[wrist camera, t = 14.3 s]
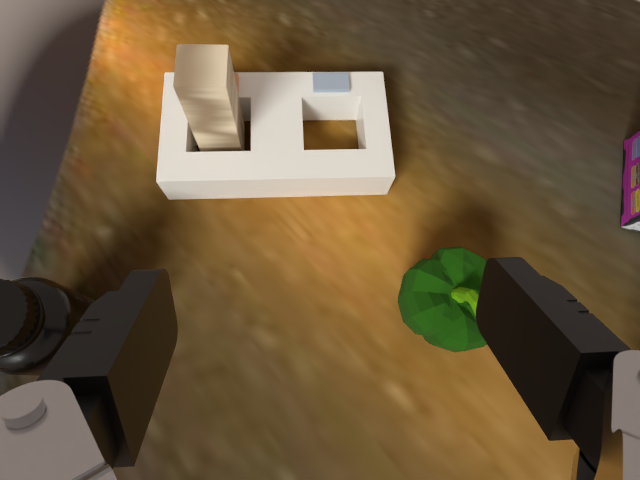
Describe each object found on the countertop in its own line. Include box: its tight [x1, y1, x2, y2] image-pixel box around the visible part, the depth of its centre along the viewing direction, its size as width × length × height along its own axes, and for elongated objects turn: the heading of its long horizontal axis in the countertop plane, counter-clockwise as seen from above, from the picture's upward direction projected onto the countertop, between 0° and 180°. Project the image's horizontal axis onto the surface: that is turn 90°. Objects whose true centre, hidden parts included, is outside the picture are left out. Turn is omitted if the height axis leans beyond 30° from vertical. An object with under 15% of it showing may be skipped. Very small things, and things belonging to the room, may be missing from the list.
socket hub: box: [156, 72, 395, 200], centre depth 42 cm, size 22×12×4 cm, turn 92°
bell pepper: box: [398, 247, 487, 352], centre depth 35 cm, size 8×8×10 cm
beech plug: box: [173, 44, 245, 152], centre depth 38 cm, size 4×4×12 cm
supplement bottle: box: [0, 277, 96, 376], centre depth 32 cm, size 7×7×12 cm
